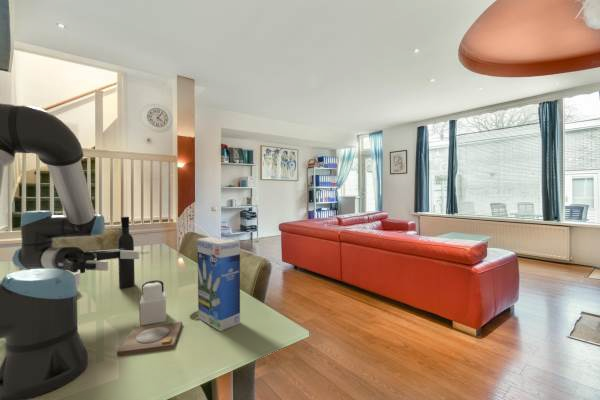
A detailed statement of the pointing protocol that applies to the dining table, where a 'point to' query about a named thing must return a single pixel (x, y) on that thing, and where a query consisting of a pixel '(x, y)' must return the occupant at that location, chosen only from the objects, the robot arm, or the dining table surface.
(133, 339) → the plate
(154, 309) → the medicine bottle
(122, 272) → the wine bottle
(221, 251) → the string lights box
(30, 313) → the robot arm
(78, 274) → the cup
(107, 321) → the dining table surface
